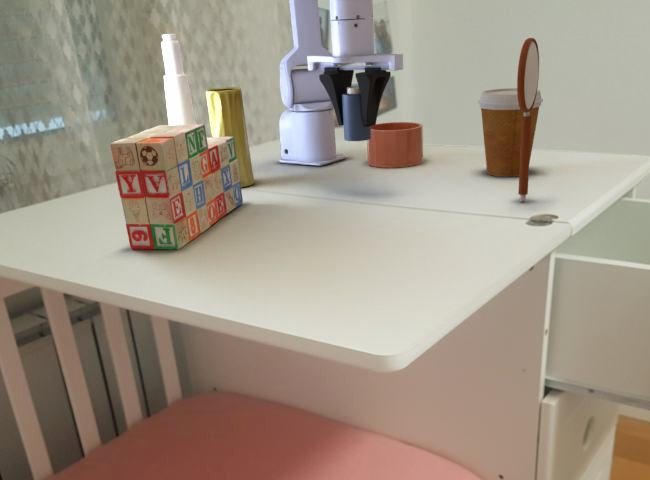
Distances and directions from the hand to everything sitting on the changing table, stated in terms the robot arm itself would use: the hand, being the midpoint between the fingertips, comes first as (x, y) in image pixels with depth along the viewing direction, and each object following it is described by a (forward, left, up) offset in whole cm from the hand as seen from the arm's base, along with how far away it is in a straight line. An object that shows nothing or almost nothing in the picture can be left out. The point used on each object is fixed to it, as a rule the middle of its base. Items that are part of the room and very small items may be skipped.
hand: (356, 125), depth 101 cm
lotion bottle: (0, 0, -2) cm, 2 cm away
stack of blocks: (-10, -24, -10) cm, 28 cm away
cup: (-6, +20, -9) cm, 23 cm away
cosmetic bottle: (-32, -3, -10) cm, 34 cm away
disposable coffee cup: (+15, +19, -10) cm, 26 cm away
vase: (-21, -4, -10) cm, 23 cm away
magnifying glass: (+24, +3, -10) cm, 26 cm away
